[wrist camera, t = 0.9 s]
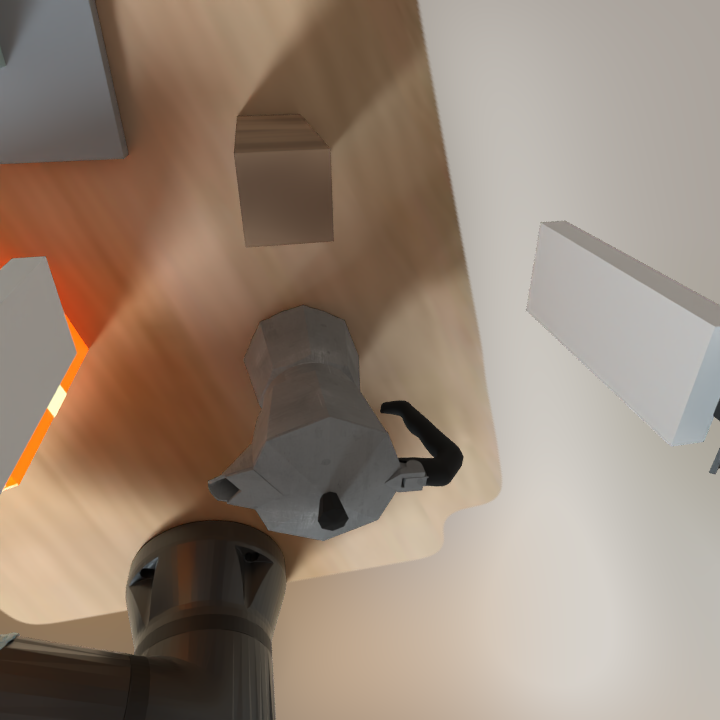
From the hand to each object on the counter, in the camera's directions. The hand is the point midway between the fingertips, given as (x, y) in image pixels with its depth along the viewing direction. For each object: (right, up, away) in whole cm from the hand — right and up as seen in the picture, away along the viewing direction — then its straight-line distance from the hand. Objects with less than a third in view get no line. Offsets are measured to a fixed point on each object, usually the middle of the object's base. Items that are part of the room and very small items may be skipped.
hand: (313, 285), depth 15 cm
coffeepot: (-2, -2, +29) cm, 29 cm away
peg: (-4, +12, +21) cm, 24 cm away
